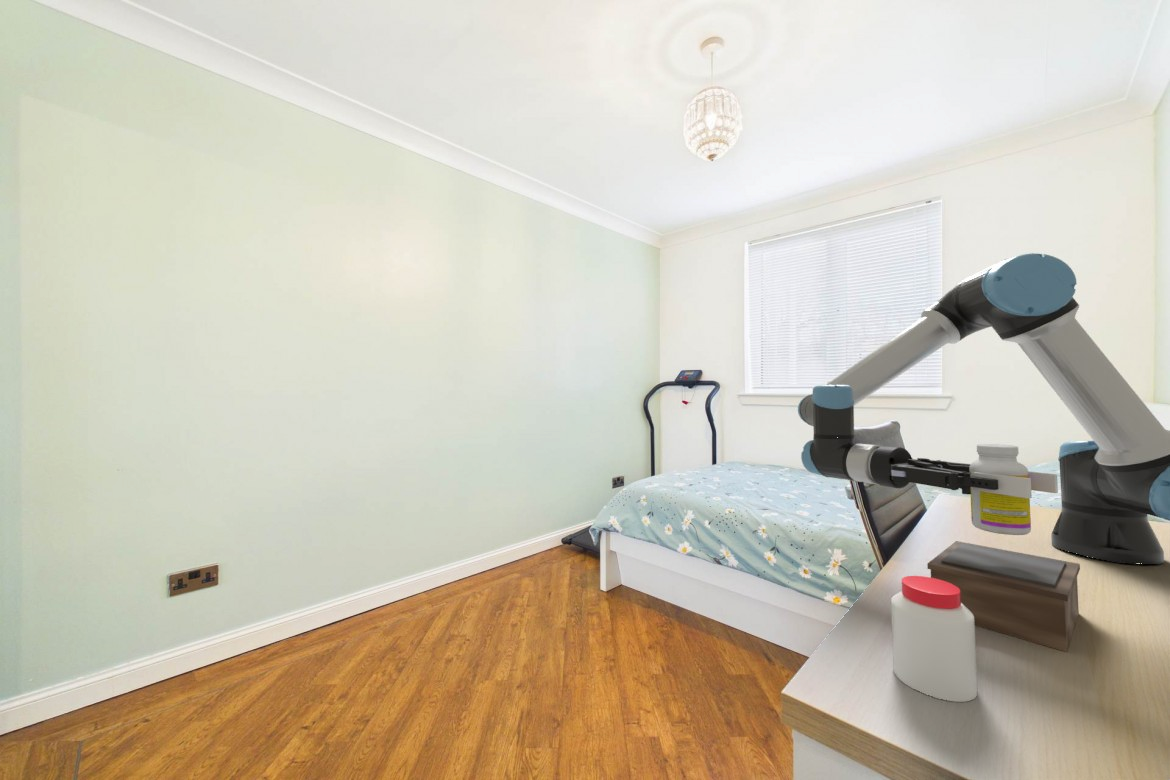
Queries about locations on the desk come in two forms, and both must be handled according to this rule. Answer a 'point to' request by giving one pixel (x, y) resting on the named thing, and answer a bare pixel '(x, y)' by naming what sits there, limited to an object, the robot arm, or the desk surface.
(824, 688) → the desk surface
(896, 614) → the pill bottle
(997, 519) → the supplement bottle
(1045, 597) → the walnut box
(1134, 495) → the robot arm
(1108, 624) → the desk surface
